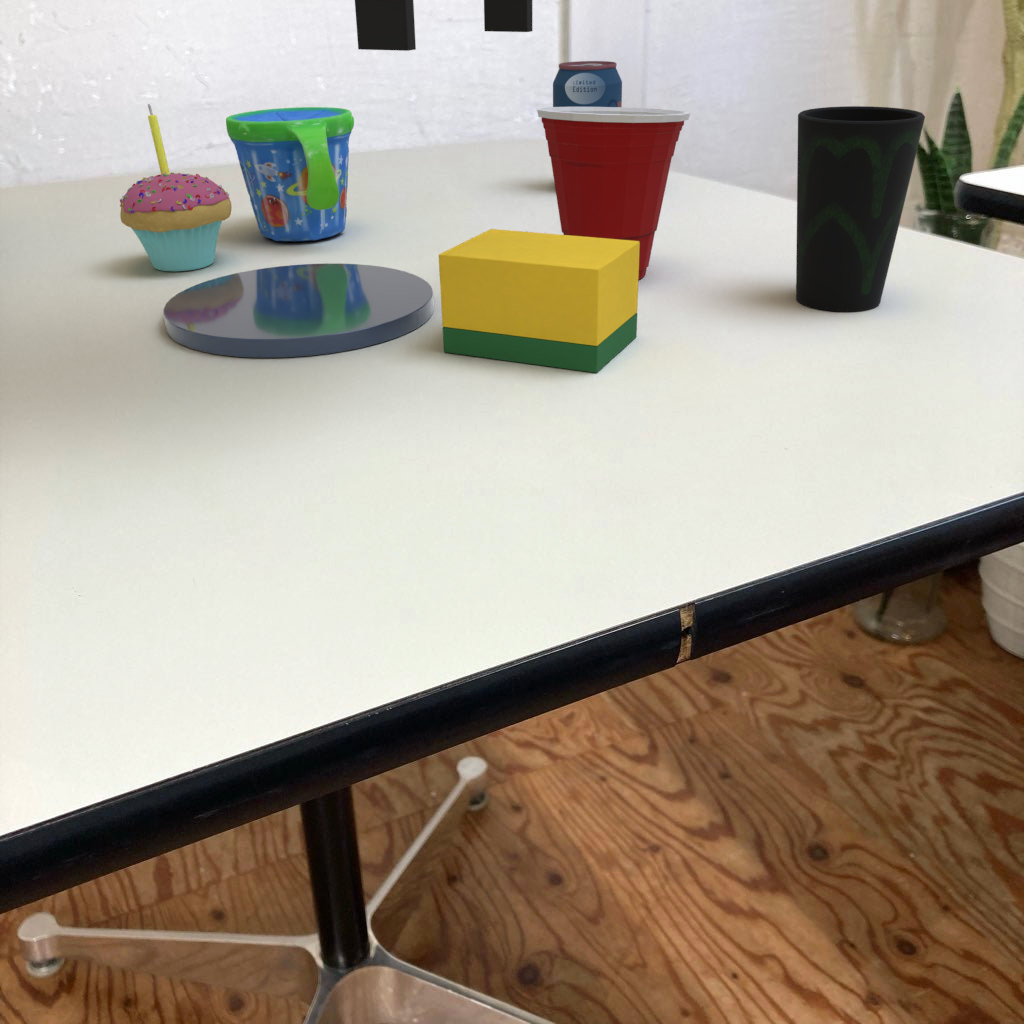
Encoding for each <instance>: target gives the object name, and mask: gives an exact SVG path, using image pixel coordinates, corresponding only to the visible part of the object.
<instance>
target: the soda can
mask: <svg viewBox="0 0 1024 1024" xmlns="http://www.w3.org/2000/svg"><path fill="white" fill-rule="evenodd" d="M622 105H623V80H622V78H621V76H620V74H619V70H618V69H617V62H616V61H607V60H606V61H605V60H581V61H580V60H579V61H568V62H567V61H566V62H560V63H559V64H558V71H557V73H556V74H555V77H554V80H553V82H552V107H623V106H622Z"/></svg>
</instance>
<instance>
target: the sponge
mask: <svg viewBox="0 0 1024 1024" xmlns="http://www.w3.org/2000/svg"><path fill="white" fill-rule="evenodd" d="M639 248H640V242H639V241H631V240H619V239H607V238H595V237H583V236H571V235H564V234H559V233H558V234H557V233H548V232H547V233H546V232H534V231H533V232H532V231H522V230H521V231H520V230H509V229H497V228H490V229H488V230H486V231H484V232H482V233H480V234H478V235H476V236H473V237H471V238H470V239H467V240H465V241H463V242H461V243H459V244H456V245H455V246H452V247H451V248H449V249H447V250H445V251H443V252H441V253H438V271H439V288H440V305H441V308H440V309H441V323H442V325H441V326H442V342H443V343H442V345H443V352H444V353H448V354H456V355H462V356H471V357H478V358H485V359H493V360H500V361H507V362H514V363H522V364H530V365H537V366H544V367H551V368H557V369H566V370H573V371H580V372H587V373H595V374H597V373H598V372H600V371H601V370H602V369H603V368H604V367H605V366H606V365H607V364H608V363H610V361H612V360H613V359H614V358H615V357H616V356H618V355H619V353H620V352H622V351H623V350H624V349H625V348H626V347H627V346H628V345H629V344H630V343H631V342H633V341H634V340H635V339H636V338H637V336H638V333H637V332H638V303H639V302H638V301H639V279H638V277H639Z"/></svg>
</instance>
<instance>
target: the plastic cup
mask: <svg viewBox="0 0 1024 1024" xmlns="http://www.w3.org/2000/svg"><path fill="white" fill-rule="evenodd" d="M536 112H537V116H538V117H539V118H541V123H542V127H543V129H544V134H545V140H546V141H547V149H548V156H549V157H550V161H551V169H552V176H553V182H554V189H555V195H556V196H555V197H556V203H557V209H558V215H559V223H560V229H561V233H563V234H562V235H571V236H583V237H595V238H607V239H619V240H631V241H639V242H640V248H639V277H638V280H641V279H643V278H644V277H645V276H646V275H647V269H648V268H649V266H650V261H651V255H652V249H653V244H654V241H655V240H654V239H655V234H656V231H657V230H658V225H659V221H660V216H661V211H662V208H663V207H662V206H663V201H664V196H665V192H666V188H667V181H668V177H669V173H670V167H671V163H672V158H673V157H674V155H675V150H676V146H677V142H678V141H679V137H680V133H681V131H682V130H683V126H684V125H685V121H688V120H689V118H690V115H691V113H690V112H688V111H683V110H682V111H681V110H673V109H661V108H659V109H658V108H645V107H623V106H622V107H553V106H544V107H536Z"/></svg>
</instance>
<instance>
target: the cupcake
mask: <svg viewBox="0 0 1024 1024" xmlns="http://www.w3.org/2000/svg"><path fill="white" fill-rule="evenodd" d="M147 107H148V111H149V115H147V119H148V124H149V129H150V132H151V136H152V141H153V146H154V149H155V154H156V158H157V163H158V167H159V171H160V174H157V175H150V176H148V177H142V179H141V180H137V181H136V182H135V183H133V184H132V185H131V186H130V187H128V189H127V191H126V193H125V194H124V195H122V196H121V198H120V199H119V203H120V204H119V207H120V212H119V216H120V221H121V223H122V224H123V225H124V226H127V227H128V228H130V229H131V230H132V231H133V232H134V234H135V236H136V237H137V238H138V240H139V242H140V244H141V245H142V247H143V249H144V251H145V252H146V255H147V257H148V259H149V261H150V263H151V265H152V266H153V268H154V269H156V270H158V271H162V272H189V271H195V270H199V269H203V268H207V267H209V266H211V265H212V264H214V262H215V260H216V259H215V257H216V250H217V243H218V238H219V232H220V229H221V226H222V223H223V222H224V221H226V220H228V219H229V218H230V217H231V215H232V201H231V198H230V194H229V192H227V191H226V190H225V189H224V188H223V186H222V185H221V184H219V185H218V184H217V183H216V182H214V181H213V180H211V179H209V177H207V176H205V177H204V176H201V174H199V173H195V174H192V173H191V174H190V173H181V172H177V173H174V172H170V168H169V164H168V160H167V156H166V151H165V146H164V142H163V138H162V133H161V129H160V125H159V120H158V116H157V114H154V113H153V108H152V105H151V104H150V103H147Z"/></svg>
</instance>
